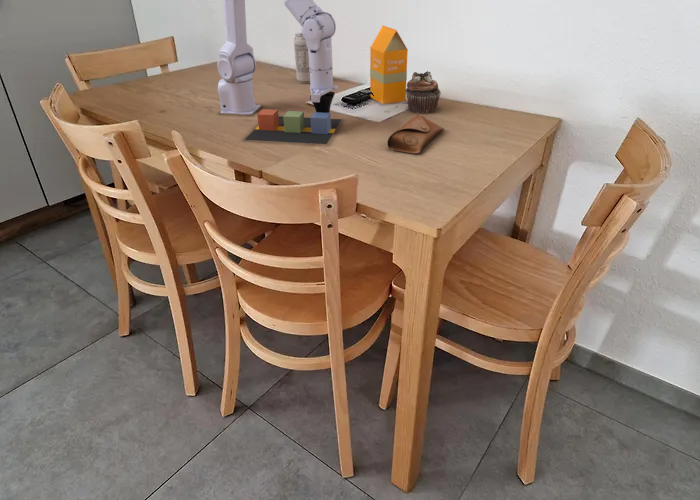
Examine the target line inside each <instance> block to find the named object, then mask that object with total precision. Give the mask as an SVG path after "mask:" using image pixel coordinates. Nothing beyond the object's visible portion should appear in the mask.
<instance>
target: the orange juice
mask: <svg viewBox="0 0 700 500" xmlns="http://www.w3.org/2000/svg"><path fill="white" fill-rule="evenodd" d="M369 48H370V49H369V50H370V53H369V54H370V55H369V56H370V57H369V58H370V59H369V61H370V63H369V64H370V66H369V77H370V78H369V79H370V80H369V83H370V85H369V86H370V87H369V90H370V91H371V92H372V93H373V95H374V96H373V95H372V94H370V93H369V96H370V98H371V99H372V100H374V101H376V102H378V103H381V104H382V105H386V104H397V103H403V102H406V101H407V95H406V89H407V80H408V78H407V77H408V51H409V49H408V48H407V46H406V44H405V43H404V41H403V39H402V38H401V36H400V34H399V32H398V30H397V29H395V28H392V27H389V26H386V25H382V26H381V28H380V29H379V31H378V33H377V34H376V37H375V39H374V40H373V42H372V44H371V45H370V46H369ZM370 91H369V92H370Z"/></svg>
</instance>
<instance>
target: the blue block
mask: <svg viewBox="0 0 700 500" xmlns="http://www.w3.org/2000/svg"><path fill="white" fill-rule="evenodd" d="M310 118H311V133H312V134H328V133H329V131H330V129H331V119H332V117H331V112H330V113H322V112H316V111H315V112H313V113H312V115H311V116H310Z"/></svg>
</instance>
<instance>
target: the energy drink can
mask: <svg viewBox="0 0 700 500" xmlns="http://www.w3.org/2000/svg"><path fill="white" fill-rule="evenodd" d="M293 48H294V49H293V50H294V61H295V74H296V80H297V82H298V83H299V84H302V85H303V84H310V70H309V53H308V47H307V43H306V40H305V38H304V36H303V34H302V32H297V33H295V34H294V38H293Z"/></svg>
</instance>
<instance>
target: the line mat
mask: <svg viewBox="0 0 700 500" xmlns="http://www.w3.org/2000/svg"><path fill="white" fill-rule="evenodd" d="M341 121H342V119H341V118H331V129H330V131H329V133H328V134H312V133H311V117H304V124H305V128H304V129H303V130H302V132H301V133H291V132H285V129H284V119H283V116H279V126H278V128H277V129H276V130H275V131H267V130H259V125H257V126H256V127H255V128H254V130H252V131H251V133H249V135H247V137H246V138H245V139H244V141H258V142H259V141H260V142H277V143H296V144H311V145H313V144H314V145H327V144H328V142H329V141H330V139H331V138H332V136H333V134H334V133H335V131H336V129H337V128H338V126H339V124H340V123H341Z"/></svg>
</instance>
